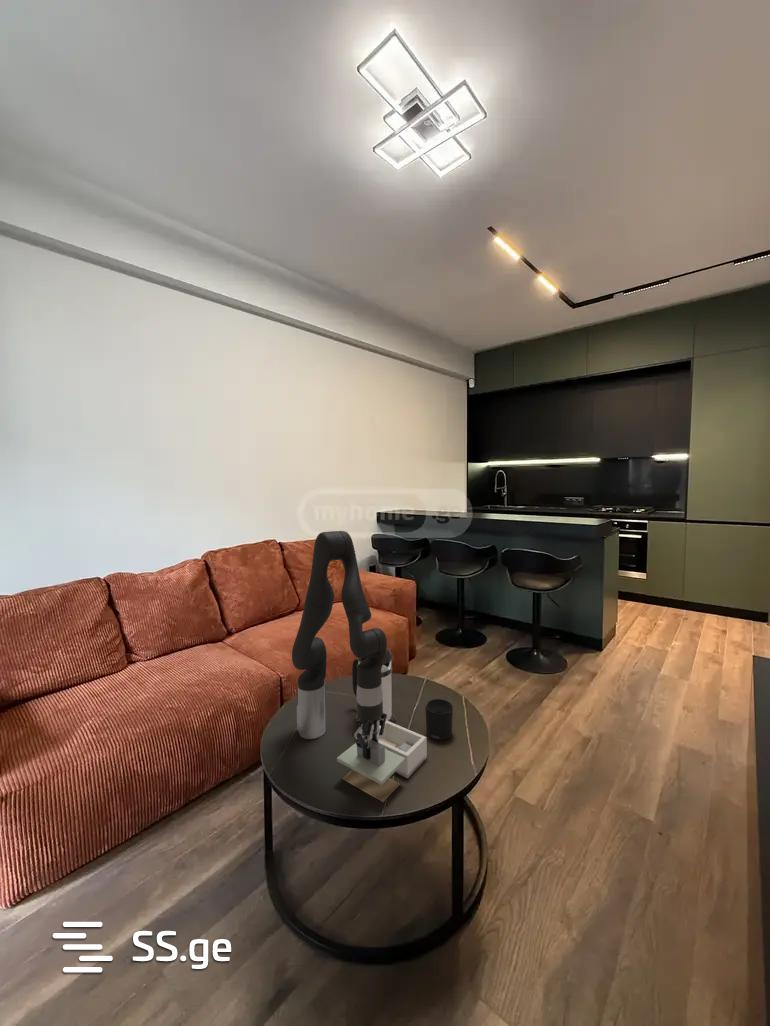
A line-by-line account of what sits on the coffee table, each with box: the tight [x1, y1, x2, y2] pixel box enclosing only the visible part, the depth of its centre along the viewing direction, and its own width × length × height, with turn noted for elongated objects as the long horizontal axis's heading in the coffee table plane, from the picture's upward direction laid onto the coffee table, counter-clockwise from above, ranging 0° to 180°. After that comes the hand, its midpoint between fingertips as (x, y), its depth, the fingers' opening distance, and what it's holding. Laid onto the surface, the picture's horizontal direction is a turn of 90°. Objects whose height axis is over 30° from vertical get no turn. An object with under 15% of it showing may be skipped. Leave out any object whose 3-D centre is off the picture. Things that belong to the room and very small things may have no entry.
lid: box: [336, 739, 405, 785], centre depth 119 cm, size 16×11×7 cm
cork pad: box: [342, 769, 401, 803], centre depth 120 cm, size 15×8×1 cm, turn 53°
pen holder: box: [425, 698, 454, 742], centre depth 142 cm, size 9×9×10 cm
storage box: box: [368, 720, 428, 779], centre depth 130 cm, size 16×11×7 cm
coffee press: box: [351, 647, 397, 723], centre depth 150 cm, size 17×16×30 cm
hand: (370, 754), depth 119 cm, fingers closed on lid, 3 cm apart
